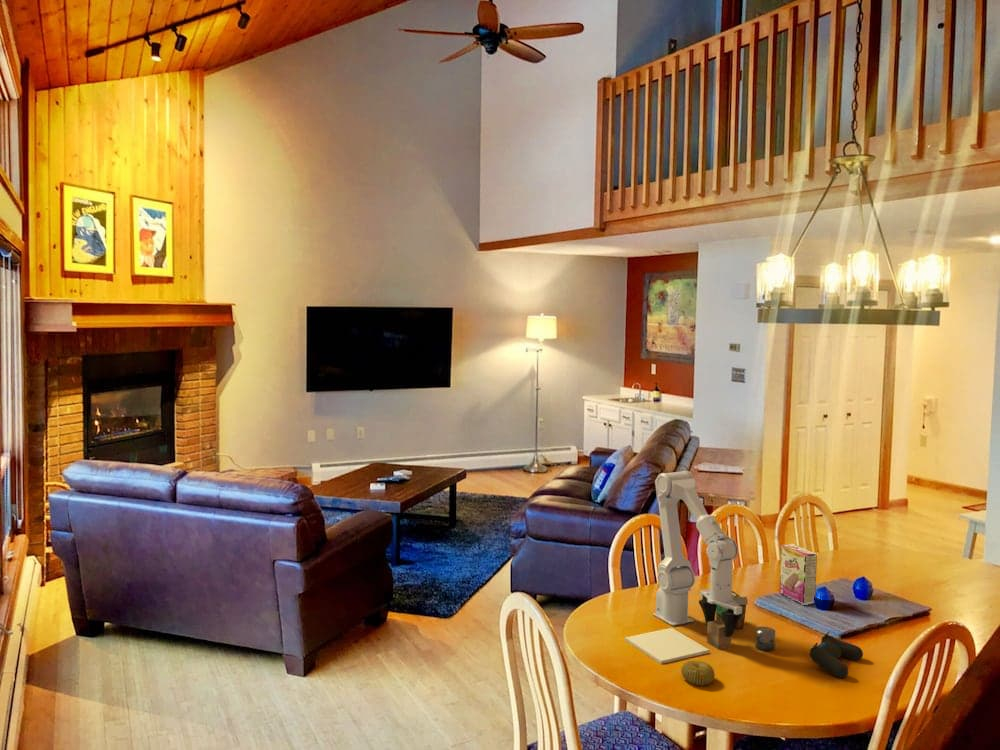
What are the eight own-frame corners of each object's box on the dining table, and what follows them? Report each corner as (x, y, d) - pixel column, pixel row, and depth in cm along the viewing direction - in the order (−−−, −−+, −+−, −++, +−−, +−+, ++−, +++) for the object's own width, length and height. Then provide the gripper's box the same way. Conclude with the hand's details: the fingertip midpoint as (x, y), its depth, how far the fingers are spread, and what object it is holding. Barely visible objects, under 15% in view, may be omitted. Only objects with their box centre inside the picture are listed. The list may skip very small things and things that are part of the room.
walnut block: (706, 642, 218) (707, 621, 218) (719, 640, 220) (720, 619, 220) (718, 649, 214) (718, 628, 214) (730, 646, 216) (731, 625, 216)
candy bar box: (778, 594, 256) (780, 544, 255) (790, 592, 258) (792, 543, 256) (803, 606, 246) (805, 554, 244) (815, 604, 247) (818, 553, 246)
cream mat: (625, 640, 219) (625, 637, 219) (671, 630, 226) (671, 627, 226) (660, 664, 205) (660, 661, 205) (709, 652, 212) (709, 649, 212)
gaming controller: (854, 665, 211) (822, 638, 216) (867, 651, 209) (834, 623, 214) (835, 688, 198) (801, 658, 203) (848, 673, 196) (814, 643, 201)
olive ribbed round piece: (721, 665, 196) (703, 675, 190) (720, 681, 196) (702, 691, 191) (693, 654, 202) (675, 664, 196) (692, 669, 202) (674, 679, 197)
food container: (703, 618, 236) (704, 585, 235) (720, 615, 238) (721, 583, 237) (728, 634, 224) (730, 599, 223) (746, 631, 226) (748, 597, 226)
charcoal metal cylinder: (751, 646, 217) (752, 628, 216) (765, 642, 219) (765, 625, 218) (764, 653, 212) (765, 635, 212) (778, 649, 214) (779, 632, 214)
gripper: (692, 576, 221) (690, 623, 222) (728, 593, 208) (726, 643, 209) (711, 573, 224) (710, 619, 225) (748, 589, 211) (746, 638, 212)
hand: (719, 630), depth 217 cm, fingers open, 7 cm apart
